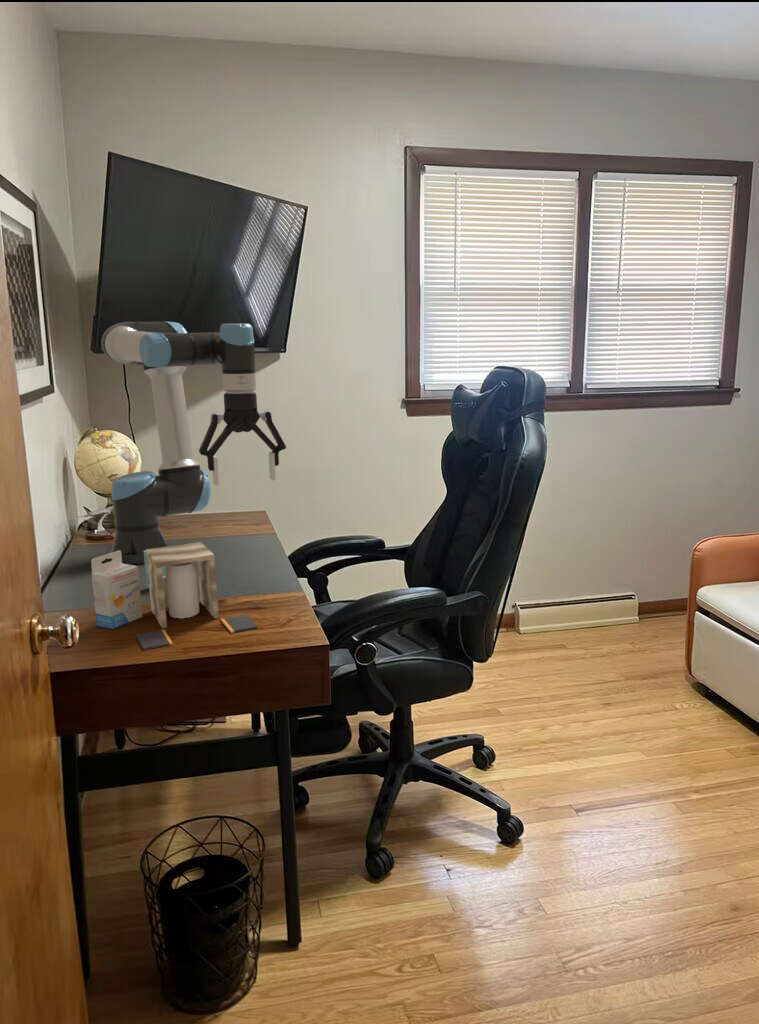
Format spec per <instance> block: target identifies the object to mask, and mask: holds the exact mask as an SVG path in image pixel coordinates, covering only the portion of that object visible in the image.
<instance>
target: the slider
mask: <svg viewBox="0 0 759 1024" xmlns="http://www.w3.org/2000/svg"><path fill="white" fill-rule="evenodd" d="M144 561H145V563H144V570H145V580H146V588H149V578H148V568H147V557H146V550H145V551H144ZM166 567H167V566H164V567H162V577H163V588H164V599H165V609H166V608H169V606H168V595H167V583H166Z"/></svg>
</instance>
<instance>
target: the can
mask: <svg viewBox="0 0 759 1024" xmlns="http://www.w3.org/2000/svg"><path fill="white" fill-rule="evenodd" d="M195 564H196V563H195V562H191V563H185V564H178V565H171V566H167V567H166V583H167V595H168V606H169V607H168V614H169V616H170V617H171V618H172V617H173V618H172V619H175V618H179V619H178V620H185V619H184V618H188V619H191V618H190V617H192V618H194V617H196V616H197V614H199V613H200V601H199V600H200V598H199V596H200V595H199V586H198V584H199V583H198V575H197V574H198V573H197V566H196V565H195ZM195 615H196V616H195ZM193 616H194V617H193Z"/></svg>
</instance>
